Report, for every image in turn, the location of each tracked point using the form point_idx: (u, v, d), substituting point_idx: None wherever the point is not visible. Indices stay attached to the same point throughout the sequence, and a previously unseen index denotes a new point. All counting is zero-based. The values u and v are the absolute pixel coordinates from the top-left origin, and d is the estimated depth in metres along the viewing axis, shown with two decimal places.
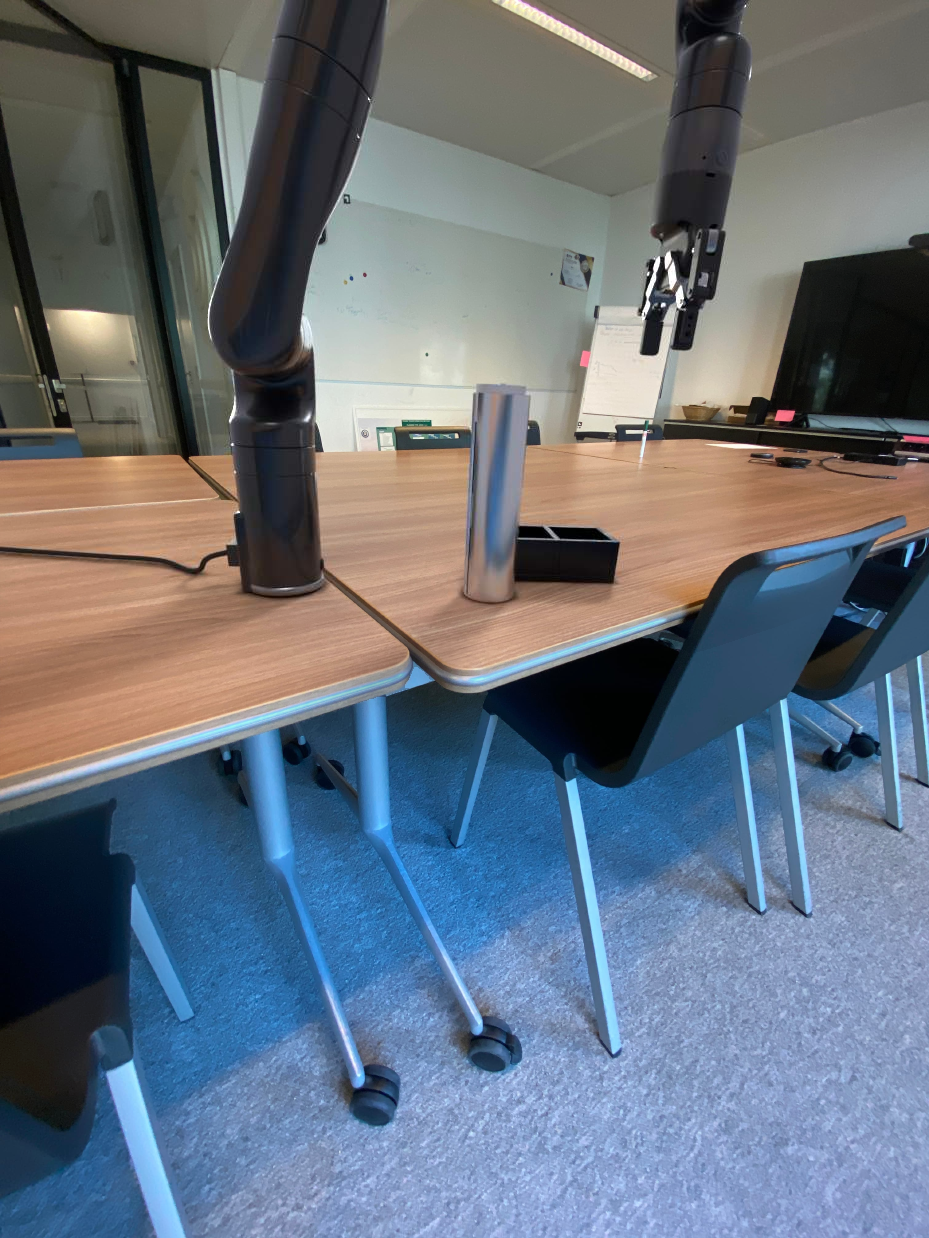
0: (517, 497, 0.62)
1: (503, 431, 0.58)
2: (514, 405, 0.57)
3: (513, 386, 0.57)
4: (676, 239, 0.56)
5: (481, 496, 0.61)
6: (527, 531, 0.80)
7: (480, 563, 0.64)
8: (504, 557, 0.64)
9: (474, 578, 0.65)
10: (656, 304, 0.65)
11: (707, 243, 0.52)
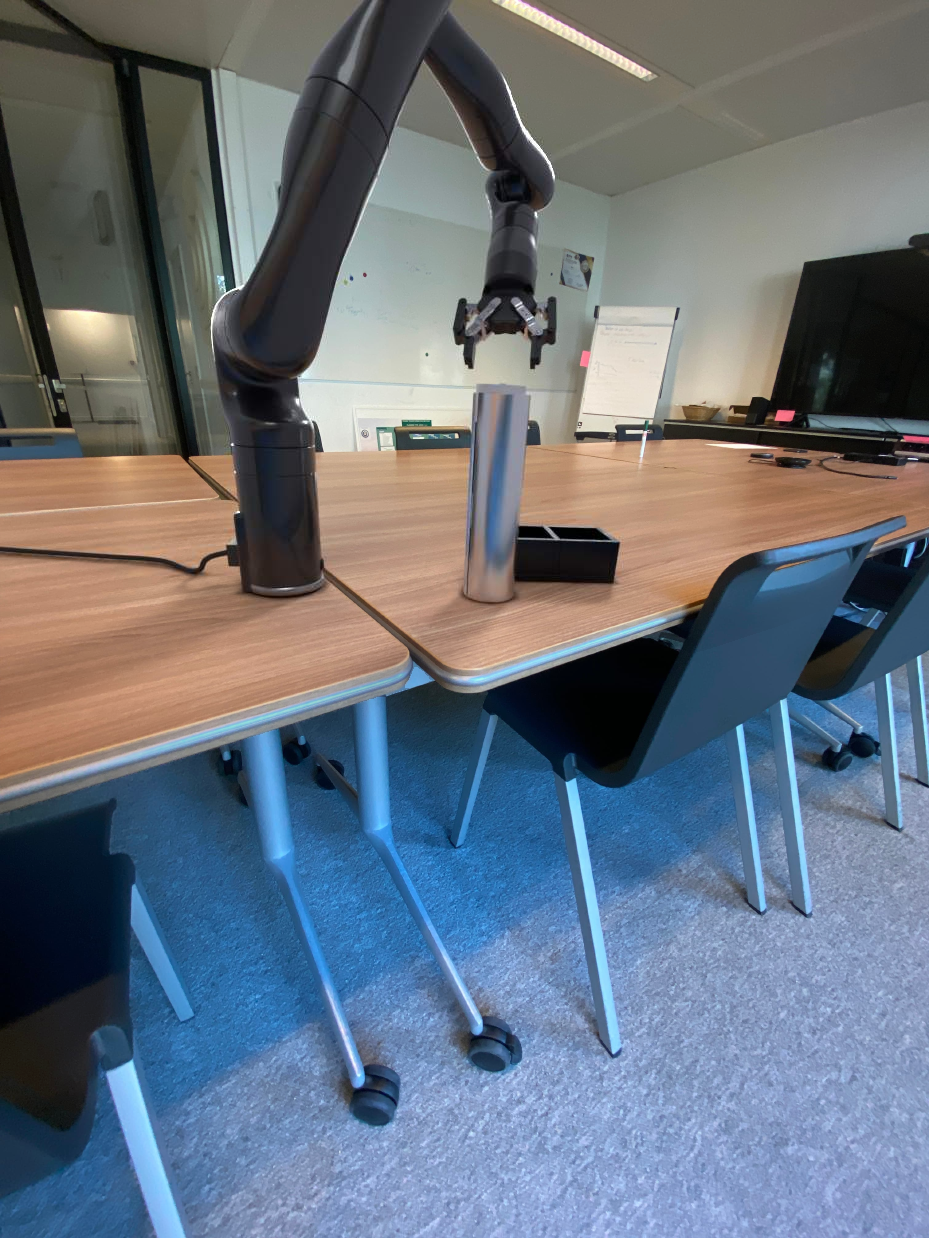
0: (517, 497, 0.62)
1: (503, 431, 0.58)
2: (514, 405, 0.57)
3: (513, 386, 0.57)
4: (513, 296, 0.74)
5: (481, 496, 0.61)
6: (527, 531, 0.80)
7: (480, 563, 0.64)
8: (504, 557, 0.64)
9: (474, 578, 0.65)
10: None
11: None
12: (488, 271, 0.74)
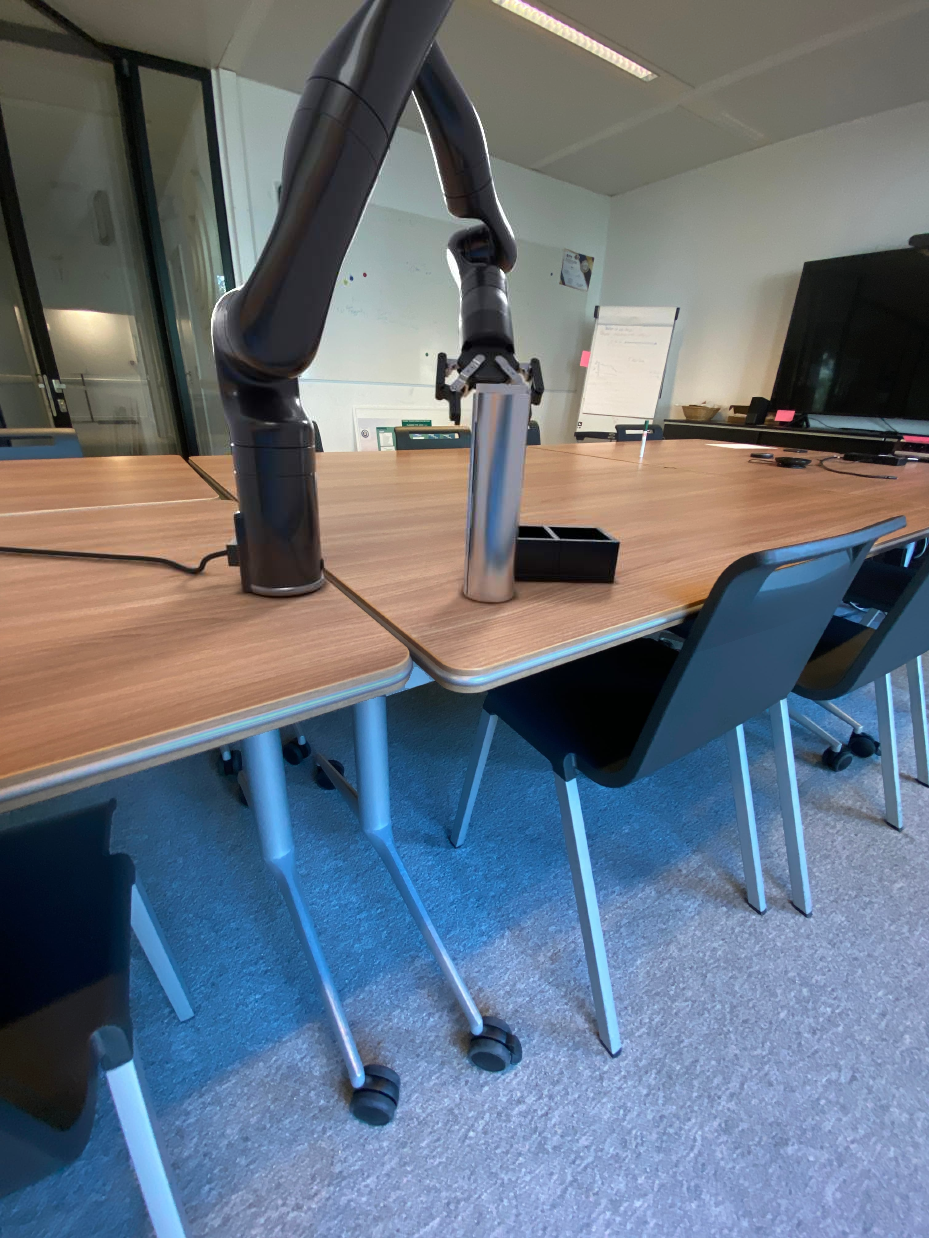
0: (517, 497, 0.62)
1: (503, 431, 0.58)
2: (514, 405, 0.57)
3: (513, 386, 0.57)
4: (495, 354, 0.71)
5: (481, 496, 0.61)
6: (527, 531, 0.80)
7: (480, 563, 0.64)
8: (504, 557, 0.64)
9: (474, 578, 0.65)
10: None
11: None
12: (468, 328, 0.71)
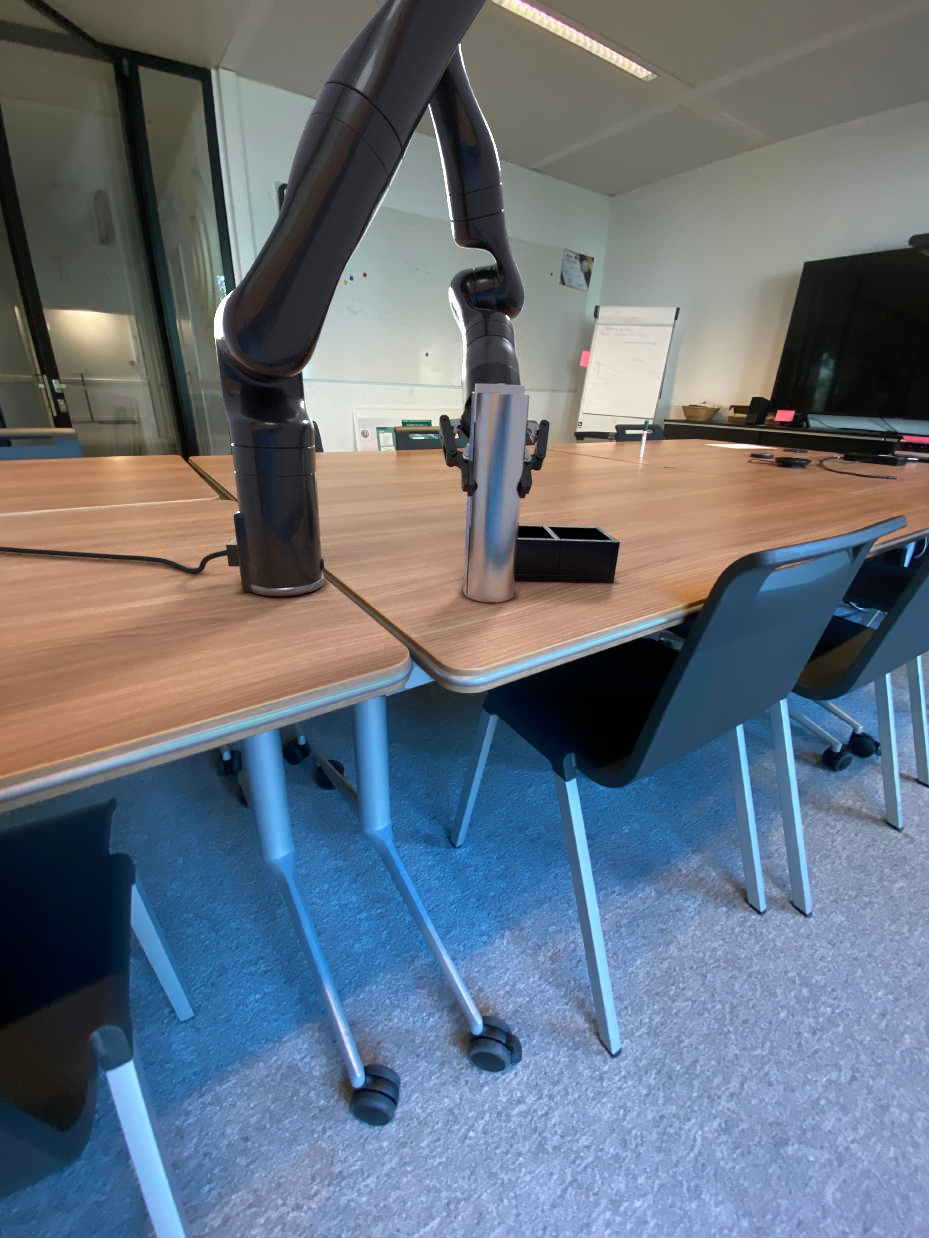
0: (516, 497, 0.62)
1: (502, 431, 0.58)
2: (513, 405, 0.57)
3: (512, 386, 0.57)
4: None
5: (480, 496, 0.61)
6: (527, 531, 0.80)
7: (480, 563, 0.64)
8: (504, 557, 0.64)
9: (474, 578, 0.65)
10: None
11: None
12: (472, 383, 0.65)
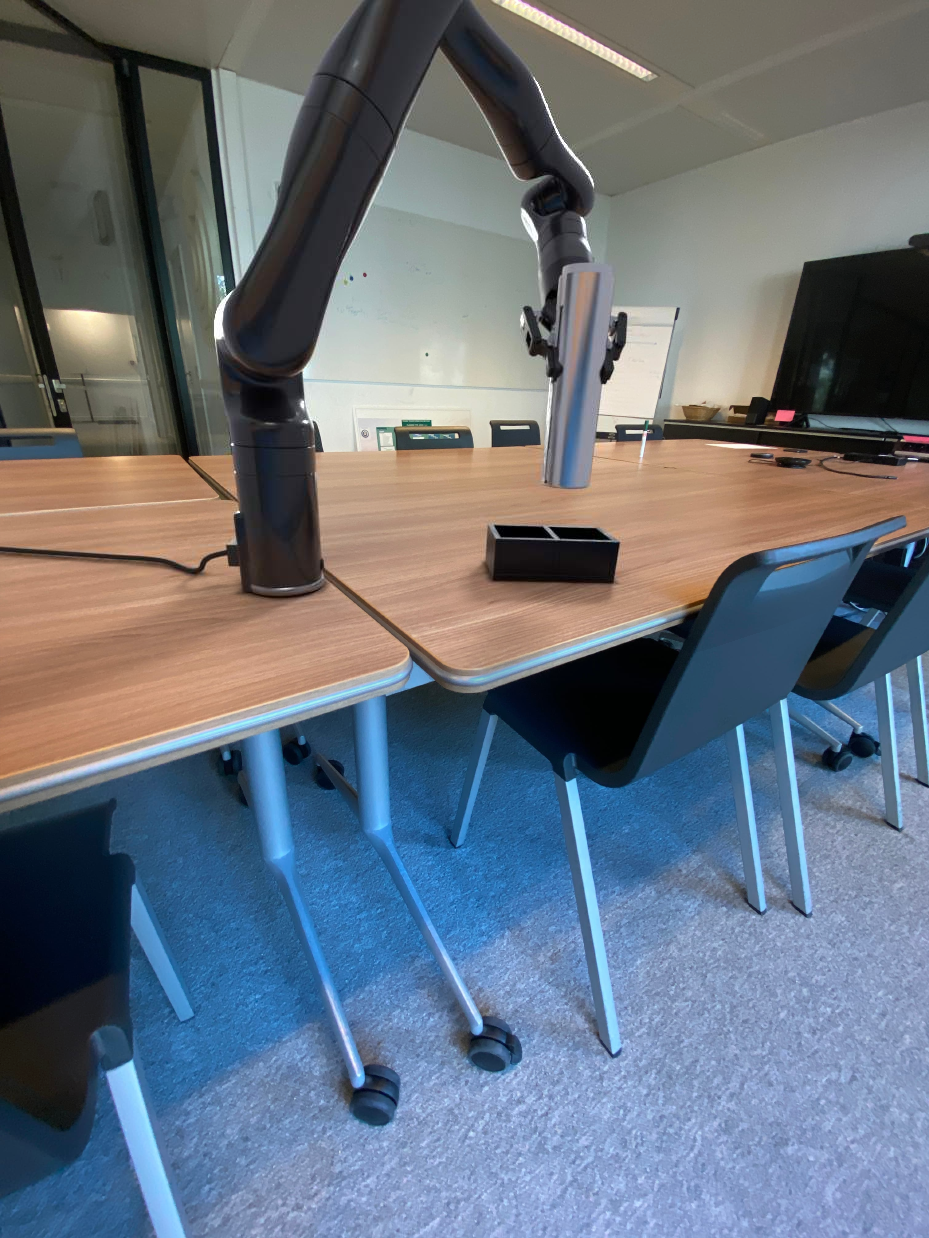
0: (599, 381, 0.65)
1: (590, 311, 0.61)
2: (602, 284, 0.60)
3: (601, 265, 0.59)
4: None
5: (566, 379, 0.64)
6: (527, 531, 0.80)
7: (562, 449, 0.67)
8: (585, 442, 0.67)
9: (555, 465, 0.68)
10: None
11: None
12: (553, 276, 0.68)
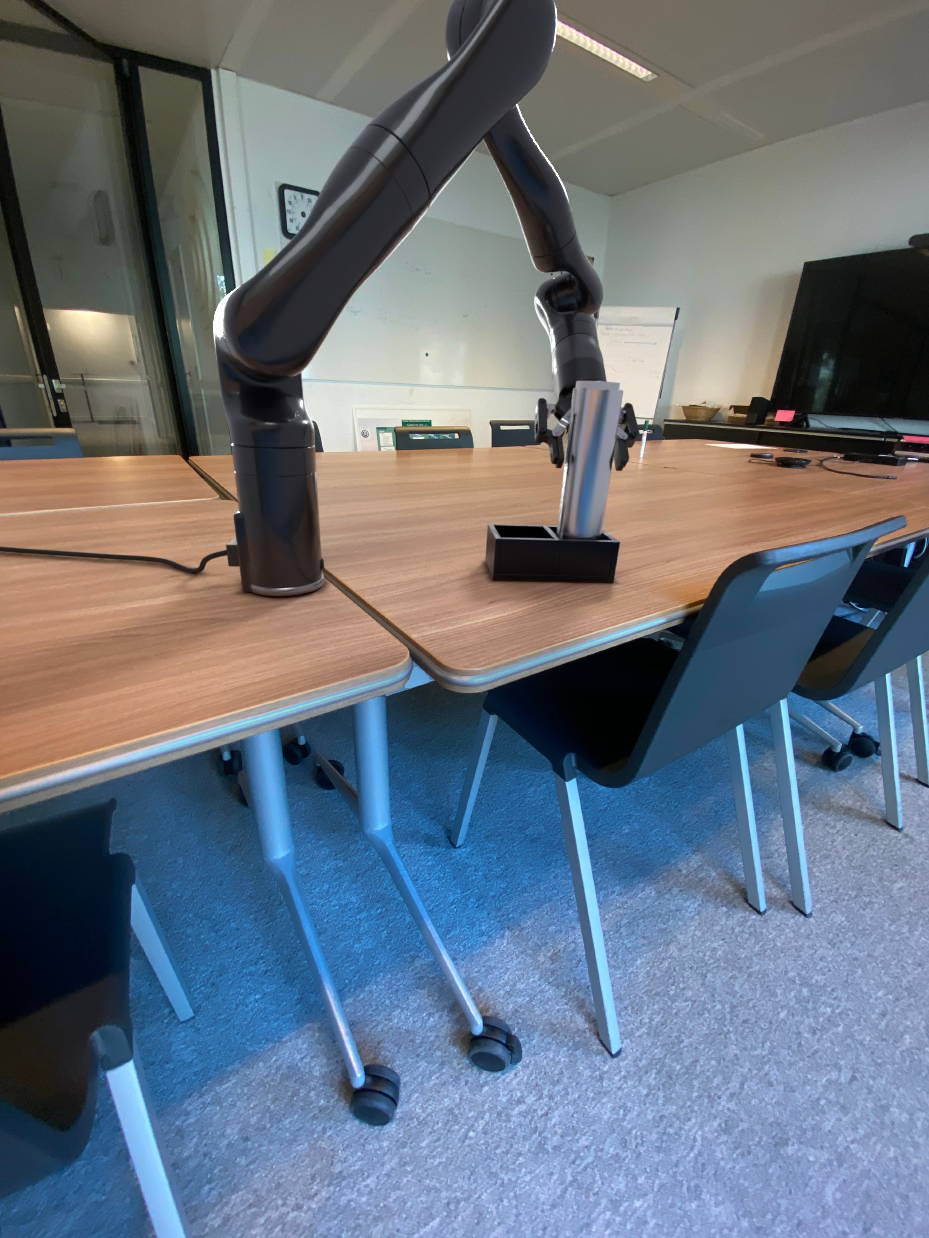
0: (608, 478, 0.72)
1: (601, 421, 0.68)
2: (611, 399, 0.68)
3: (611, 383, 0.67)
4: None
5: (578, 477, 0.72)
6: (527, 531, 0.80)
7: (573, 536, 0.74)
8: (594, 531, 0.74)
9: None
10: None
11: None
12: (566, 374, 0.75)
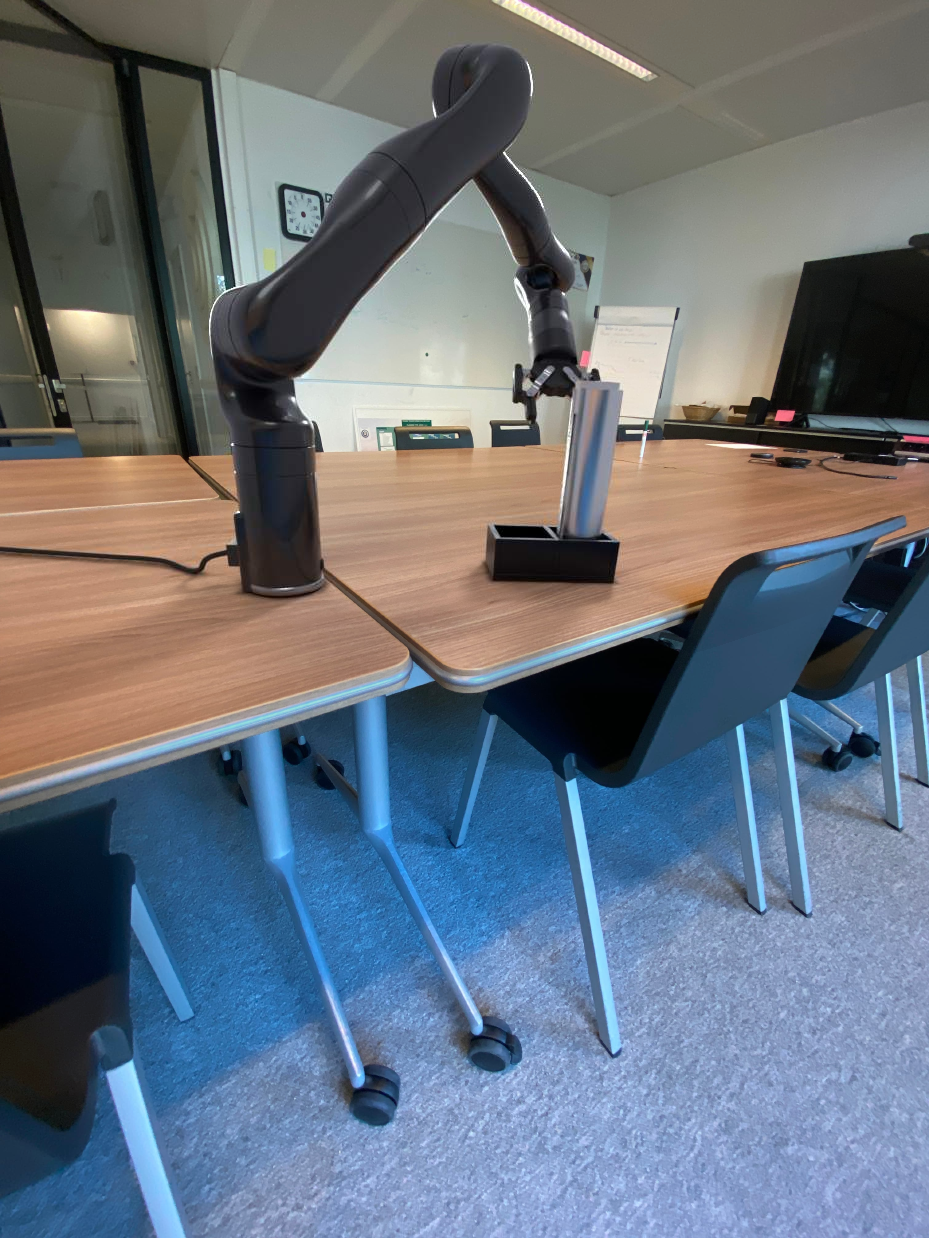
0: (608, 478, 0.72)
1: (601, 421, 0.68)
2: (611, 399, 0.68)
3: (611, 383, 0.67)
4: (562, 365, 0.85)
5: (578, 477, 0.72)
6: (527, 531, 0.80)
7: (573, 536, 0.74)
8: (594, 531, 0.74)
9: None
10: None
11: None
12: (539, 343, 0.85)
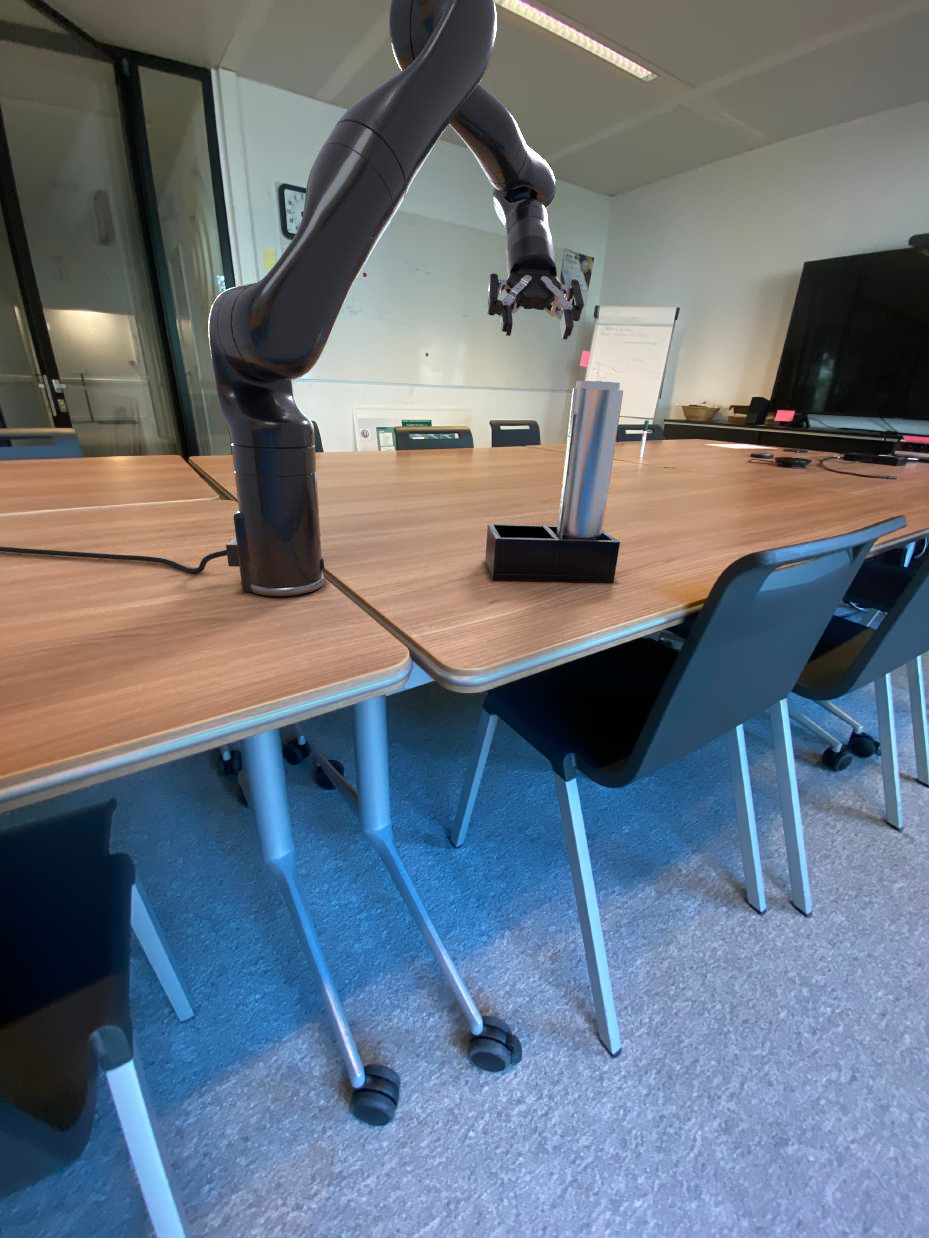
0: (608, 478, 0.72)
1: (601, 421, 0.68)
2: (611, 399, 0.68)
3: (611, 383, 0.67)
4: (540, 276, 0.81)
5: (578, 477, 0.72)
6: (527, 531, 0.80)
7: (573, 536, 0.74)
8: (594, 531, 0.74)
9: None
10: None
11: None
12: (516, 252, 0.81)
